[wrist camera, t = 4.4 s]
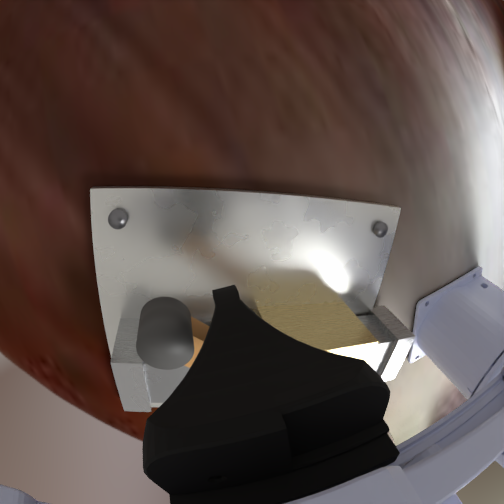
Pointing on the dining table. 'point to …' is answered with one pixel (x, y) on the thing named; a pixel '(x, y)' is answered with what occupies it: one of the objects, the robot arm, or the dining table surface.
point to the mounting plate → (235, 249)
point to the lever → (169, 334)
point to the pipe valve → (290, 323)
